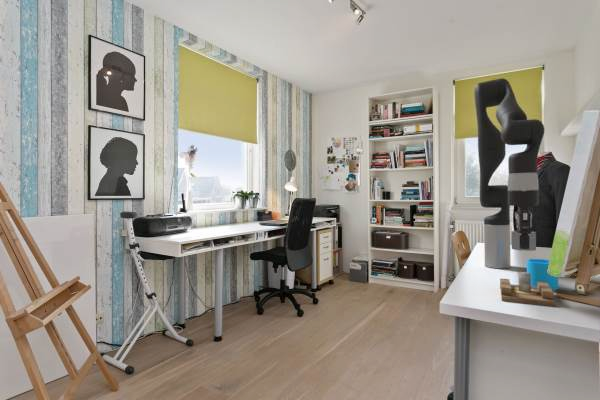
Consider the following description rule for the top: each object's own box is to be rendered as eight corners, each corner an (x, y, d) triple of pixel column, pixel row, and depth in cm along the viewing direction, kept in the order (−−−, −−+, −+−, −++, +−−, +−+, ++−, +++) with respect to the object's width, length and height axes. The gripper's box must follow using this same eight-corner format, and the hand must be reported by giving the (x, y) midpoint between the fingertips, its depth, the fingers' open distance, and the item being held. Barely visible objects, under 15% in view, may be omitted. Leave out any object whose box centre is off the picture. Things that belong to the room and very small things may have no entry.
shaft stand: (500, 287, 111) (499, 266, 111) (546, 291, 105) (545, 269, 105) (501, 300, 96) (501, 277, 96) (555, 306, 91) (554, 281, 91)
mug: (559, 291, 105) (558, 264, 105) (526, 288, 109) (526, 262, 109) (557, 283, 115) (556, 258, 115) (527, 280, 119) (527, 256, 119)
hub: (511, 247, 105) (511, 230, 105) (534, 248, 102) (534, 231, 102) (512, 249, 100) (512, 232, 100) (536, 251, 97) (536, 233, 97)
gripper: (506, 190, 109) (507, 243, 109) (508, 189, 96) (509, 250, 96) (535, 189, 105) (536, 245, 105) (541, 188, 92) (542, 251, 93)
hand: (523, 247), depth 101 cm, fingers closed on hub, 5 cm apart
